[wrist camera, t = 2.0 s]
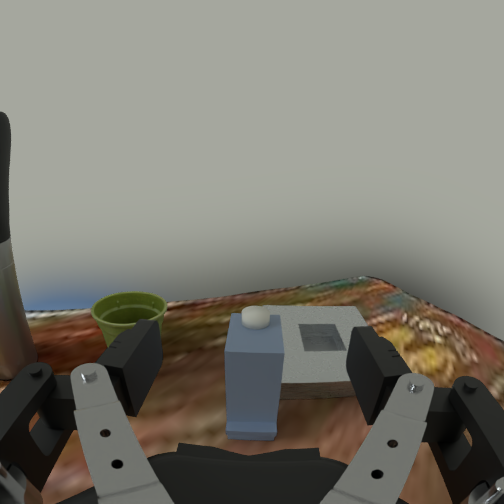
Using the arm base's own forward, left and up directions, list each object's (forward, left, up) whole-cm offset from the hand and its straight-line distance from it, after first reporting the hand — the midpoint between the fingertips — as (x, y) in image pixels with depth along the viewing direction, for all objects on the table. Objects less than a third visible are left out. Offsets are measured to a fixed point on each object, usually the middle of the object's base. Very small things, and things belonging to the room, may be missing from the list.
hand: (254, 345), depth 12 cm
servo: (-8, +8, -17) cm, 20 cm away
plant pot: (-24, +3, -17) cm, 30 cm away
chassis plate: (-11, +24, -17) cm, 31 cm away
